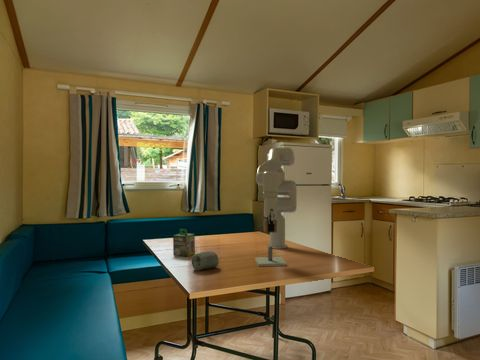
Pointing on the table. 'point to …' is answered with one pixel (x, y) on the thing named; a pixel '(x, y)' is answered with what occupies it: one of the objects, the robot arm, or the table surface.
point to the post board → (270, 260)
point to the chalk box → (184, 244)
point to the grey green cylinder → (204, 260)
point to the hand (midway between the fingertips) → (270, 230)
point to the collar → (265, 226)
